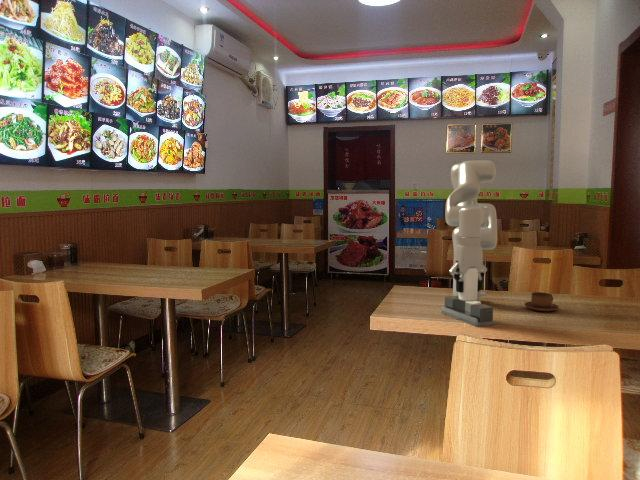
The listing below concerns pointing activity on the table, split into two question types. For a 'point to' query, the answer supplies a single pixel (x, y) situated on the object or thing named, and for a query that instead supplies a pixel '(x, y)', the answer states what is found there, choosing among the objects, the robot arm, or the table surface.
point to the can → (469, 285)
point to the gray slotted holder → (475, 317)
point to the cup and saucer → (541, 302)
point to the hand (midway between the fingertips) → (467, 291)
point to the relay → (469, 303)
